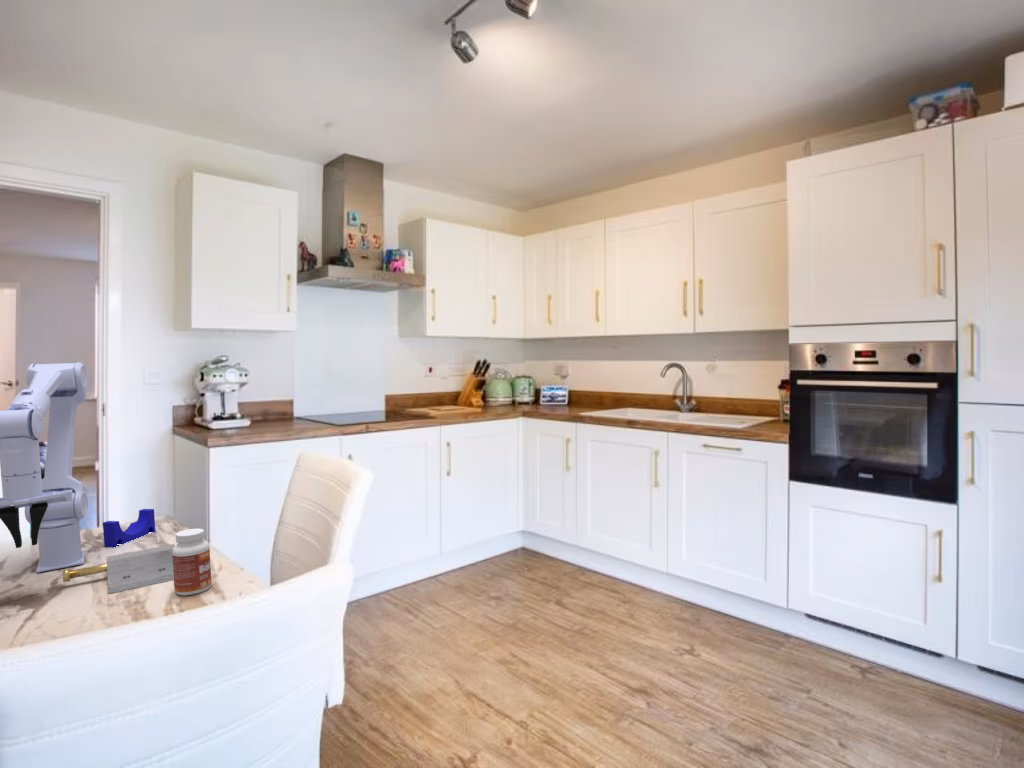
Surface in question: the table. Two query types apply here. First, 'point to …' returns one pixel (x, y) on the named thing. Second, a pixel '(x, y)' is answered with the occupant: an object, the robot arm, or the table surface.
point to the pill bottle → (191, 562)
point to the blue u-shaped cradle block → (128, 529)
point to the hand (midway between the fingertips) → (26, 545)
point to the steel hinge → (140, 568)
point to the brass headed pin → (83, 572)
